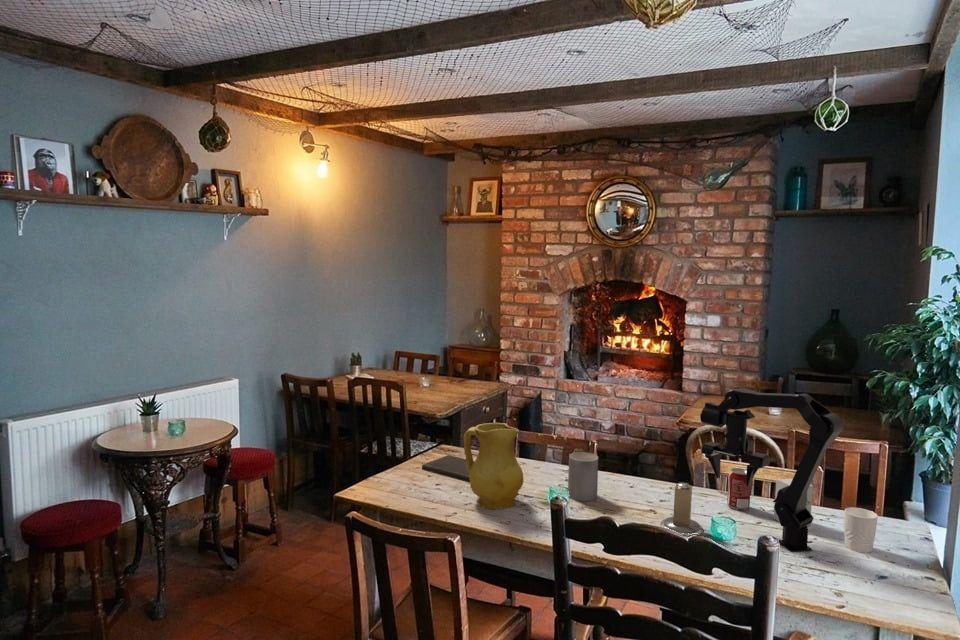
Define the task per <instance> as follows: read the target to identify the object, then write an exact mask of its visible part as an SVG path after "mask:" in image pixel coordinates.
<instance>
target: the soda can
mask: <svg viewBox="0 0 960 640" xmlns="http://www.w3.org/2000/svg"><path fill="white" fill-rule="evenodd" d="M746 475H747V469H744V468H739V467H738V468H737V467H735V468H734V467H733V468H732V469H730V472H729V474H728V478H727V479H728V480H727V481H728V482H727V496H726V497H727V498H726V499H727V500H726V505H727V506H729V507H730V508H731V507H732V508H731V509H733V508H734V509H733V510H736V509H738V510H737V511H745V509H746V510H747V509H749V508H750V507H751V506H750V504H751V489H752V483H751V484H750V486H749V487H747V485H746Z"/></svg>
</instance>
